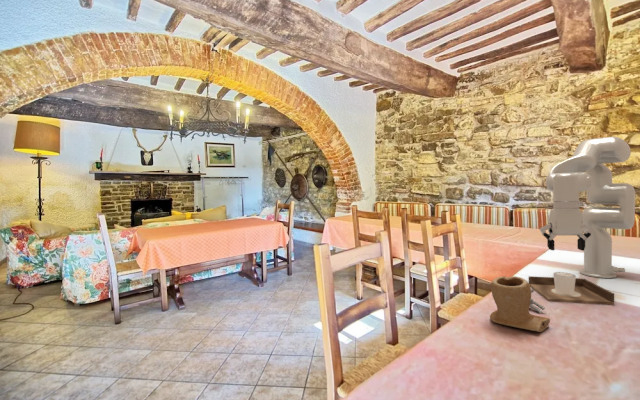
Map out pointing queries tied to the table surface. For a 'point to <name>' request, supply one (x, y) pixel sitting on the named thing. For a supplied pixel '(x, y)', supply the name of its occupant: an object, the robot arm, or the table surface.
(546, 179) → the robot arm
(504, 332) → the table surface
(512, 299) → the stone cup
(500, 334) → the table surface
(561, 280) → the shot glass
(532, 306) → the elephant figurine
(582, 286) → the corner board
